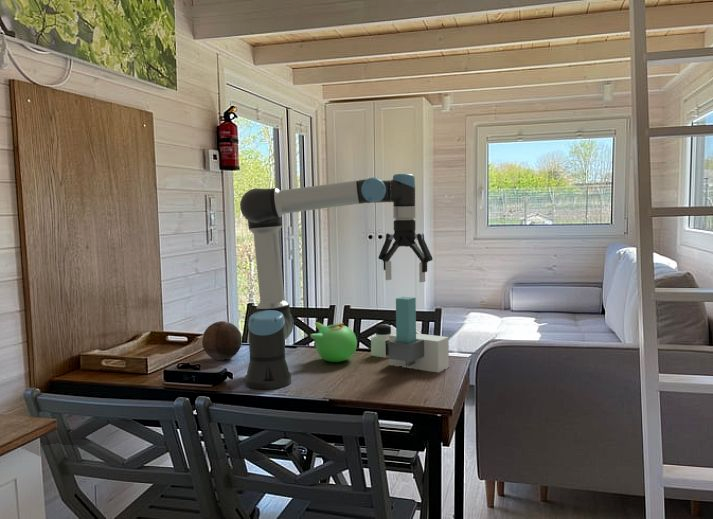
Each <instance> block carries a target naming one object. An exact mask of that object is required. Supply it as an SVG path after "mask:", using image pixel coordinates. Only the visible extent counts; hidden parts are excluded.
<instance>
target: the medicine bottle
mask: <svg viewBox="0 0 713 519" xmlns="http://www.w3.org/2000/svg"><path fill="white" fill-rule="evenodd" d="M374 328H375V329H374V330H375V336H374V337H371V338H370V349H371V350H370V351H371V352H370V354H371V356H372V357H377V358H382V357H383V358H384V359H387V358H389V335H392V328H391V325H389V324H387V323H385V324H381V323H380V324H377V325H376V326H375V327H374Z"/></svg>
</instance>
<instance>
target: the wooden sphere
mask: <svg viewBox="0 0 713 519" xmlns="http://www.w3.org/2000/svg"><path fill="white" fill-rule="evenodd" d="M201 338H202V339H201V343H202V344H201V345H202V348H203V350H204V352H205V354H206V355H207V356H208V357H210V358H211V359H214V360H216V361H225V360H224V359H227V360H230V359H232V358H233V357H235V356H236V355H237V354H238V352H240V349H241V346H242V342H243V341H242V339H243V338H242V333H241V332H240V330H239V328H238V327H237V326H236V325H234V324H233V323H231V322H229V321H224V320H223V321H222V320H221V321H216V322H214V323H213V322H212V324H210V325H209V326H208V327H206V329H205V330H204V332H203V335H202V337H201Z"/></svg>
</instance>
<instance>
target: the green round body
mask: <svg viewBox="0 0 713 519" xmlns="http://www.w3.org/2000/svg"><path fill="white" fill-rule="evenodd" d="M314 324H315V327H316V328H317V330H318V332H317V333H311V334H310V335H309V337H310V338H311V339H312V340H314V341H315V342H314V344H315V349H316V352H317V354H318V355H319V356H320V357H321V358H322V359H323V360H325V361H327V362H329V363H330V362H331V363H339V362H344V361H347V360H348V359H350V358H351V357H352V356H353V355H354V354H355V353H356V350H357V345H358V340H357V336H356V334H355V332H354V331H353V330H352V329H351V328H350V327H348V326H346V325H344V322H340V323H336V324H334V323H332V324H329V325H324V324H323V323H320V322H319V321H317V322H315V323H314Z"/></svg>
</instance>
